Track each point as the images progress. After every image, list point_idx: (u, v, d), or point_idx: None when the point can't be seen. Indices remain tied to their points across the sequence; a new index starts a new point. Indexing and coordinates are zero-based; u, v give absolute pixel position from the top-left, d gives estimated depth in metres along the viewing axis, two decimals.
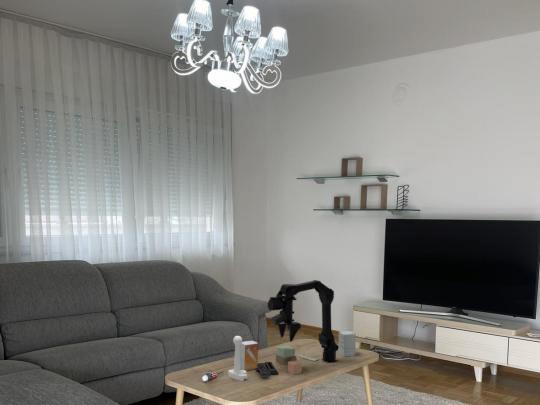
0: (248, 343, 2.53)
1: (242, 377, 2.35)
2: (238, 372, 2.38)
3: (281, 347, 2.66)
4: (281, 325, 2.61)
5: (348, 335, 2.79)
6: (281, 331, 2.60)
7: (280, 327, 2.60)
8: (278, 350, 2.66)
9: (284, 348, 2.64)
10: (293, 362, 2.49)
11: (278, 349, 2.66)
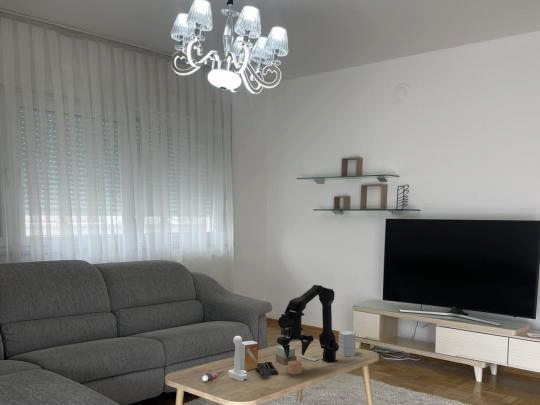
0: (248, 343, 2.53)
1: (242, 377, 2.35)
2: (238, 372, 2.38)
3: (281, 347, 2.66)
4: (303, 342, 2.52)
5: (348, 335, 2.79)
6: (302, 349, 2.52)
7: (302, 344, 2.53)
8: (278, 350, 2.66)
9: None
10: (293, 362, 2.49)
11: (278, 349, 2.66)
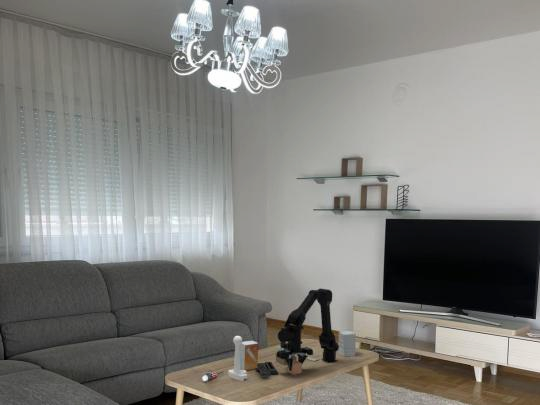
0: (248, 343, 2.53)
1: (242, 377, 2.35)
2: (238, 372, 2.38)
3: None
4: (300, 356, 2.51)
5: (348, 335, 2.79)
6: None
7: (298, 358, 2.52)
8: (278, 350, 2.66)
9: None
10: (293, 362, 2.49)
11: (278, 349, 2.66)
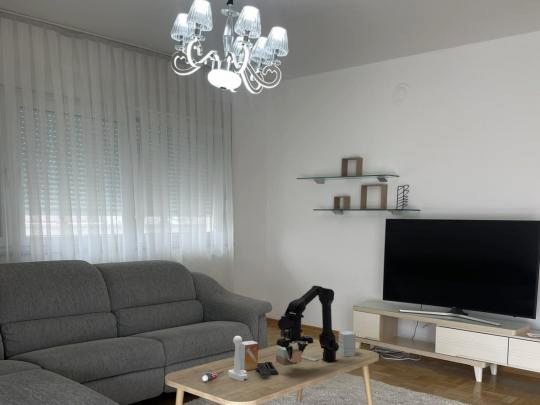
0: (248, 343, 2.53)
1: (242, 377, 2.35)
2: (238, 372, 2.38)
3: (281, 347, 2.66)
4: (300, 345, 2.51)
5: (348, 335, 2.79)
6: None
7: (298, 346, 2.52)
8: (278, 350, 2.66)
9: (284, 348, 2.64)
10: (293, 350, 2.49)
11: (278, 349, 2.66)
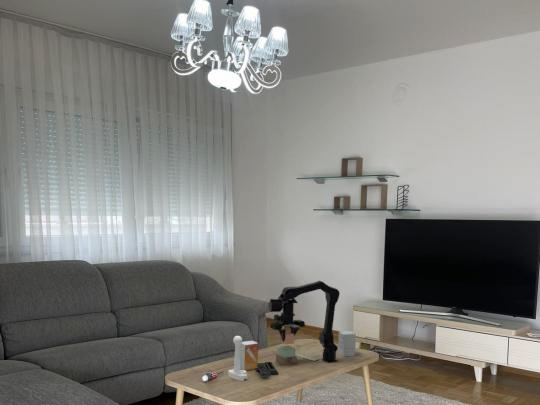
0: (248, 343, 2.53)
1: (242, 377, 2.35)
2: (238, 372, 2.38)
3: (281, 347, 2.66)
4: (292, 328, 2.66)
5: (348, 335, 2.79)
6: None
7: (291, 330, 2.66)
8: (278, 350, 2.66)
9: (284, 348, 2.64)
10: (286, 333, 2.64)
11: (278, 349, 2.66)
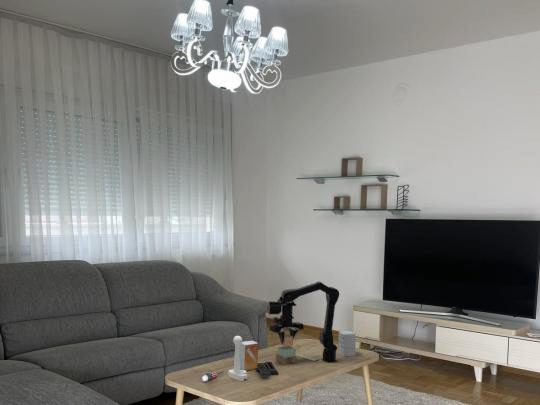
0: (248, 343, 2.53)
1: (242, 377, 2.35)
2: (238, 372, 2.38)
3: (282, 347, 2.66)
4: (291, 330, 2.67)
5: (348, 335, 2.79)
6: None
7: (290, 332, 2.68)
8: (279, 350, 2.66)
9: (285, 348, 2.64)
10: (285, 336, 2.66)
11: (279, 349, 2.66)
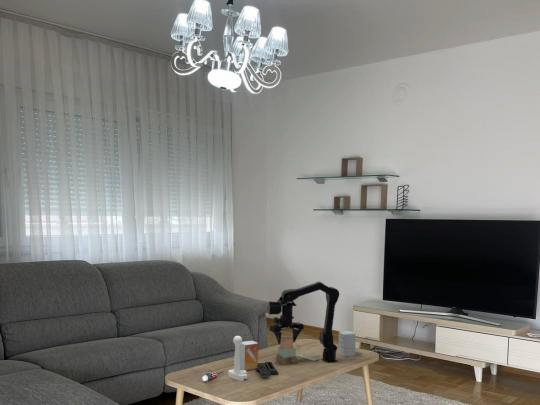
0: (248, 343, 2.53)
1: (242, 377, 2.35)
2: (238, 372, 2.38)
3: None
4: (294, 330, 2.68)
5: (348, 335, 2.79)
6: (293, 336, 2.68)
7: (293, 332, 2.69)
8: (279, 350, 2.66)
9: None
10: (285, 338, 2.66)
11: (279, 349, 2.66)
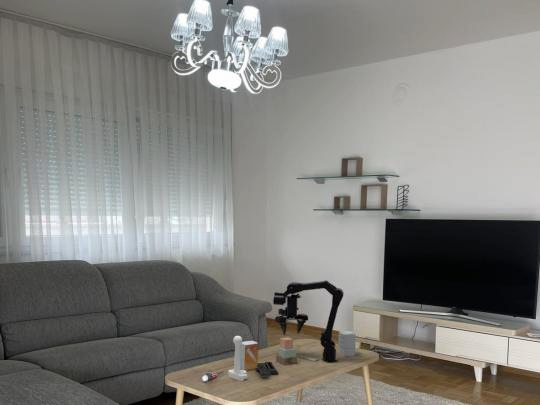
0: (248, 343, 2.53)
1: (242, 377, 2.35)
2: (238, 372, 2.38)
3: None
4: (299, 321, 2.77)
5: (348, 335, 2.79)
6: (298, 327, 2.77)
7: (298, 323, 2.78)
8: (279, 350, 2.65)
9: None
10: (285, 338, 2.66)
11: (279, 349, 2.65)
